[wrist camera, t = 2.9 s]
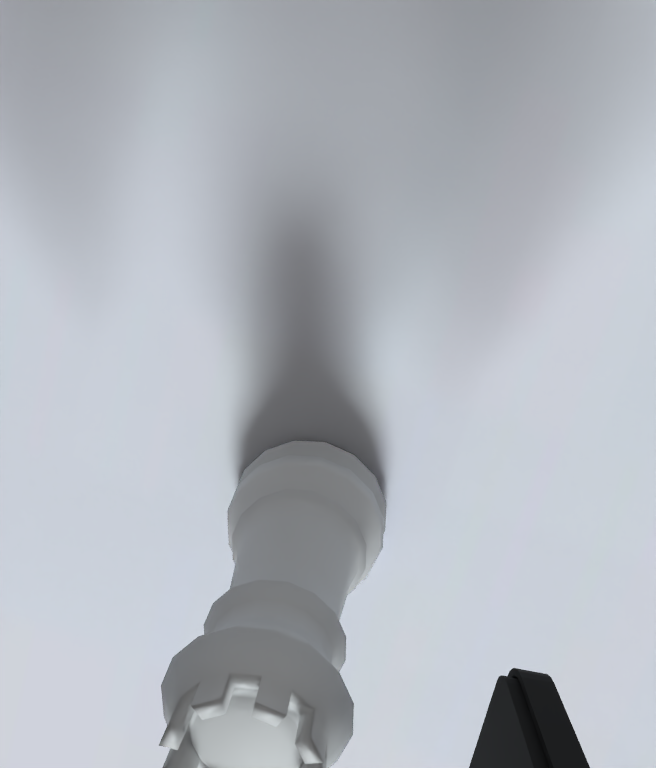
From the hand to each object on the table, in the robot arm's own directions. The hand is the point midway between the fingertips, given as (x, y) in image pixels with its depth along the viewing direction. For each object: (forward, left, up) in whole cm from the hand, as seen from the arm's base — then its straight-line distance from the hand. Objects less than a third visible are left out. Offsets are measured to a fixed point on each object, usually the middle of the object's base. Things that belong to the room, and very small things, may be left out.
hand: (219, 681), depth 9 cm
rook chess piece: (-1, 0, -7) cm, 7 cm away
